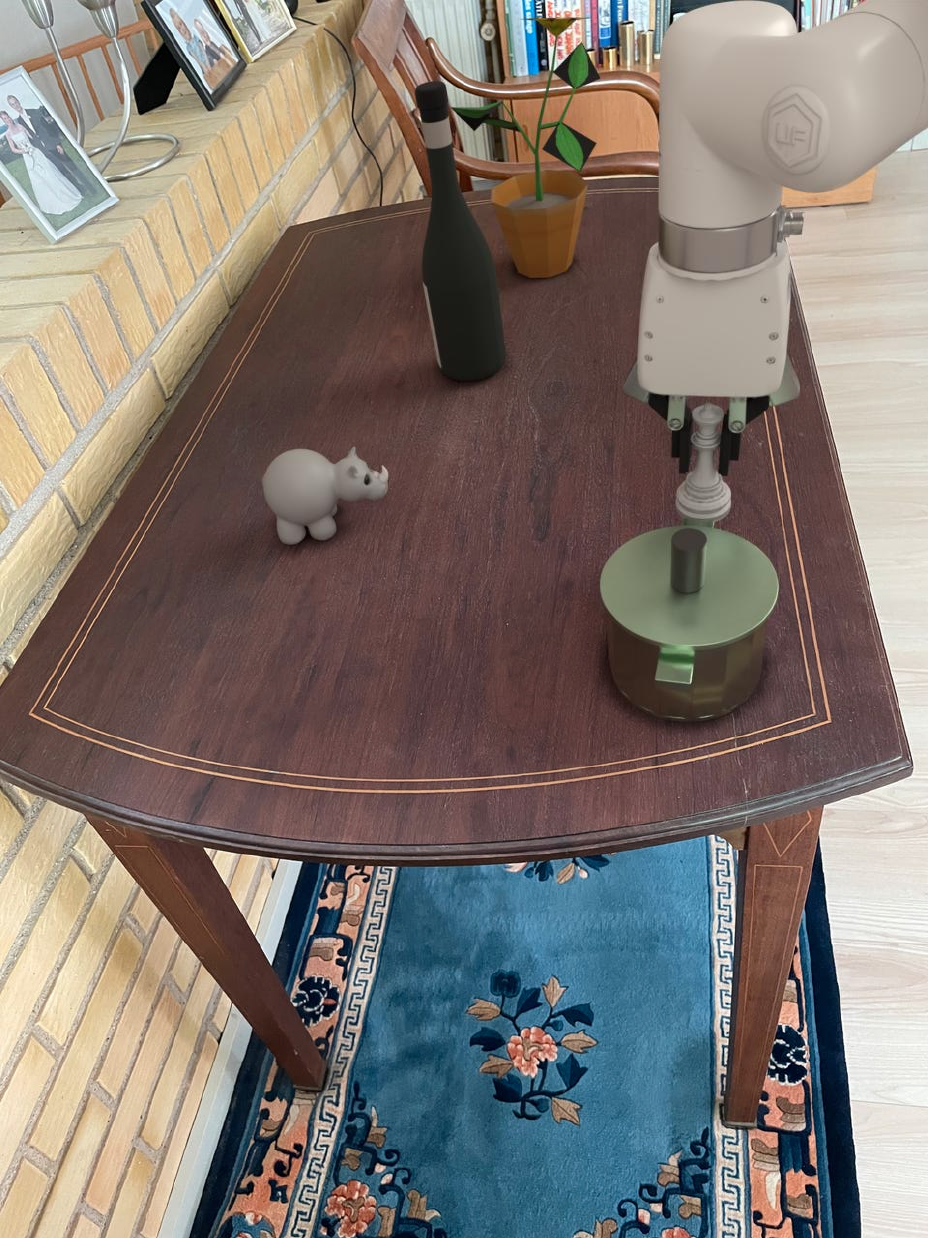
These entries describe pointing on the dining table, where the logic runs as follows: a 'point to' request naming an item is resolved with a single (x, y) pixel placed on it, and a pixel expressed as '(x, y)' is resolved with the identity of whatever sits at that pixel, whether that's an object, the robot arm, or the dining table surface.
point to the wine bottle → (456, 259)
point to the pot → (685, 672)
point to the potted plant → (544, 175)
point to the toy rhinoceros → (316, 491)
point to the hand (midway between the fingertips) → (704, 462)
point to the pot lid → (689, 587)
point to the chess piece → (704, 472)
